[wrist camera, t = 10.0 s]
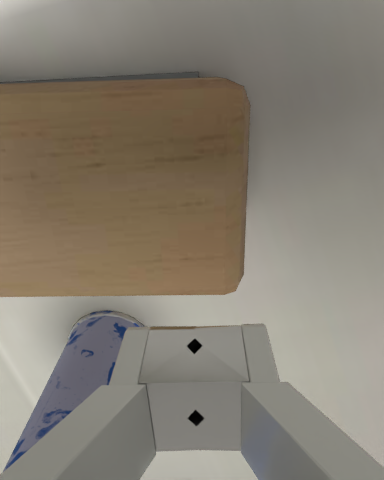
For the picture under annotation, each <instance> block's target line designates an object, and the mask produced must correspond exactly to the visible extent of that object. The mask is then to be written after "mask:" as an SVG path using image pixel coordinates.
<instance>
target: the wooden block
mask: <svg viewBox="0 0 384 480" xmlns="http://www.w3.org/2000/svg"><path fill="white" fill-rule="evenodd" d="M249 126H250V103H249V100H248V97H247V94H246V91H245V89H244V86H242V85H239V84H237V83H235V82H232V81H230V80H228V79H225V78H219V77H206V78H174V79H142V80H110V81H78V82H45V83H13V84H0V297H35V296H137V295H225V294H228V293H231V292H234V291H236V289H237V287H238V285H239V283H240V281H241V279H242V277H243V275H244V252H245V227H246V202H247V176H248V151H249Z"/></svg>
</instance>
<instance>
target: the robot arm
mask: <svg viewBox="0 0 384 480" xmlns="http://www.w3.org/2000/svg"><path fill="white" fill-rule="evenodd" d="M198 449H199V450H230V451H241V453H242V455H243V456H244V458H245V459H246V461H247V463H248V464H249V466H250V467H251V469H252V470H253V472H254V473H255V475H256V476H257V478H258V479H259V480H384V467H383V466H382V465H380V464H379V463H378V462H377V461H376V460H375V459H374V458H373V457H371V456H370V455H369V454H368V453H367V452H366V451H365V450H364V449H362V448H361V447H360V446H359V445H358V444H357V443H356V442H355V441H353V440H352V439H351V438H350V437H349V436H348V435H347V434H346V433H345V432H343V431H342V430H341V429H340V428H339V427H338V426H337V425H336V424H334V423H333V422H332V421H331V420H330V419H329V418H328V417H327V416H325V415H324V414H323V413H322V412H321V411H320V410H319V409H318V408H316V407H315V406H314V405H313V404H312V403H311V402H310V401H309V400H307V399H306V398H305V397H304V396H303V395H302V394H301V393H300V392H299V391H297V390H296V389H295V388H294V387H293V386H292V385H291V384H290V383H288V382H280V379H279V376H278V372H277V368H276V364H275V360H274V356H273V352H272V348H271V344H270V340H269V336H268V333H267V329H266V326H265V325H264V324H243V325H241V326H240V325H233V326H201V327H196V326H191V327H128V329H127V330H126V331H125V334H124V337H123V340H122V344H121V347H120V350H119V353H118V357H117V360H116V363H115V366H114V370H113V373H112V376H111V380H110V383H109V385H101V386H100V387H99V388H98V389H97V390H96V391H95V392H93V393H92V394H91V395H90V396H89V397H88V398H87V399H85V400H84V401H83V402H82V403H81V404H80V405H79V406H78V407H76V408H75V409H74V410H73V411H72V412H71V413H70V414H69V415H67V416H66V417H65V418H64V419H63V420H62V421H61V422H59V423H58V424H57V425H56V426H55V427H54V428H53V429H52V430H50V431H49V432H48V433H47V434H46V435H45V436H44V437H43V438H41V439H40V440H39V441H38V442H37V443H36V444H35V445H33V446H32V447H31V448H30V449H29V450H28V451H27V452H26V453H24V454H23V455H22V456H21V457H20V458H19V459H18V460H16V461H15V462H14V463H13V464H12V465H11V466H10V467H9V468H7V469H6V470H5V471H4V472H3V473H2V474H1V475H0V480H139V479H140V478H141V476H142V475H143V473H144V472H145V470H146V469H147V467H148V466H149V464H150V463H151V461H152V460H153V458H154V457H155V455H156V451H181V450H198Z"/></svg>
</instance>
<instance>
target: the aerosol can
mask: <svg viewBox="0 0 384 480" xmlns="http://www.w3.org/2000/svg"><path fill="white" fill-rule="evenodd" d="M128 327H144V325H142V324H141V323H140V322H138V321H137V320H136V319H134V318H133V317H130V316H128V315H125V314H123V313H120V312H113V311H100V312H93V313H91V314H88V315H86V316H84V317H82V318H81V319H80V320H79V321H78V322H76V323H75V324H74V326H73V328H72V330H71V332H70V334H69V337H68V342H67V344H66V346H65V348H64V350H63V352H62V354H61V356H60V358H59V360H58V362H57V364H56V366H55V368H54V370H53V372H52V374H51V376H50V378H49V380H48V382H47V384H46V386H45V388H44V390H43V392H42V394H41V396H40V398H39V400H38V402H37V405H36V407H35V409H34V411H33V413H32V415H31V417H30V419H29V421H28V423H27V425H26V427H25V429H24V431H23V433H22V435H21V437H20V439H19V441H18V443H17V445H16V447H15V449H14V451H13V453H12V455H11V457H10V459H9V461H8V463H7V465H6V467H5V469H4V471H5V470H6V469H7V468H9V467H10V466H11V465H12V464H13V463H14V462H15V461H16V460H18V459H19V458H20V457H21V456H22V455H23V454H24V453H26V452H27V451H28V450H29V449H30V448H31V447H32V446H33V445H35V444H36V443H37V442H38V441H39V440H40V439H41V438H43V437H44V436H45V435H46V434H47V433H48V432H49V431H50V430H52V429H53V428H54V427H55V426H56V425H57V424H58V423H59V422H61V421H62V420H63V419H64V418H65V417H66V416H67V415H69V414H70V413H71V412H72V411H73V410H74V409H75V408H76V407H78V406H79V405H80V404H81V403H82V402H83V401H84V400H85V399H87V398H88V397H89V396H90V395H91V394H92V393H93V392H95V391H96V390H97V389H98V388H99V387H100V386H101V385H109V383H110V380H111V376H112V373H113V370H114V366H115V363H116V360H117V357H118V353H119V350H120V347H121V344H122V340H123V337H124V334H125V331H126V330H127V329H128ZM4 471H3V472H4Z"/></svg>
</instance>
